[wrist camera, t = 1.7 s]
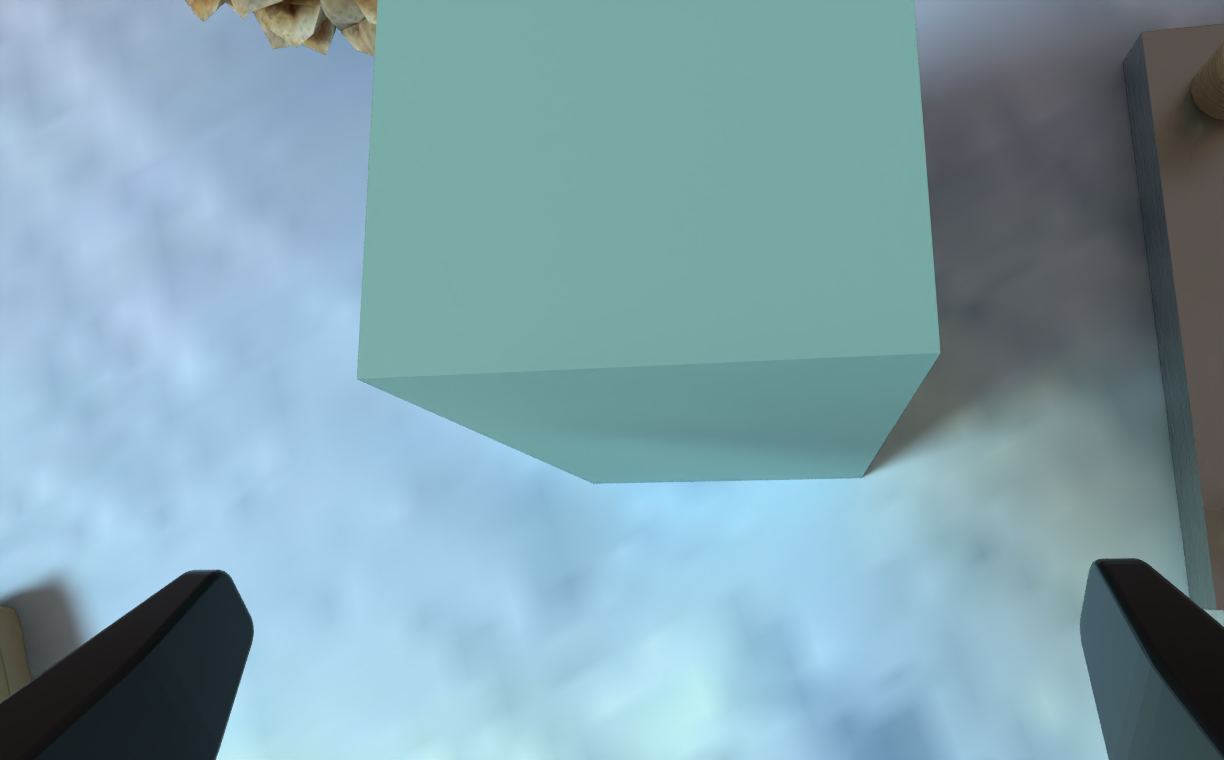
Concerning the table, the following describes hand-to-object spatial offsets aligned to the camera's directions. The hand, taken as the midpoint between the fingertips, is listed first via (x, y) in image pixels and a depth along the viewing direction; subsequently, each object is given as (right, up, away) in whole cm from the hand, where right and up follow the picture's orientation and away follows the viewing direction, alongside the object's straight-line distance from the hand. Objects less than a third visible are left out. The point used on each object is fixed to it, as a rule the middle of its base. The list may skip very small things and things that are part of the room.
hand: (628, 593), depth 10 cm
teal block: (+2, +3, +12) cm, 12 cm away
